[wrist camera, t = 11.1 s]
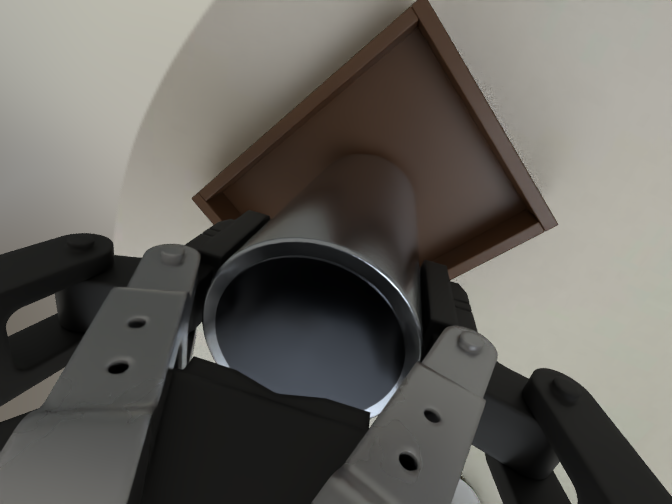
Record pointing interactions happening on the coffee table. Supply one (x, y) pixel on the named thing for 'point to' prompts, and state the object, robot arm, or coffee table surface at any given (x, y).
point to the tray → (400, 147)
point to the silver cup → (326, 290)
